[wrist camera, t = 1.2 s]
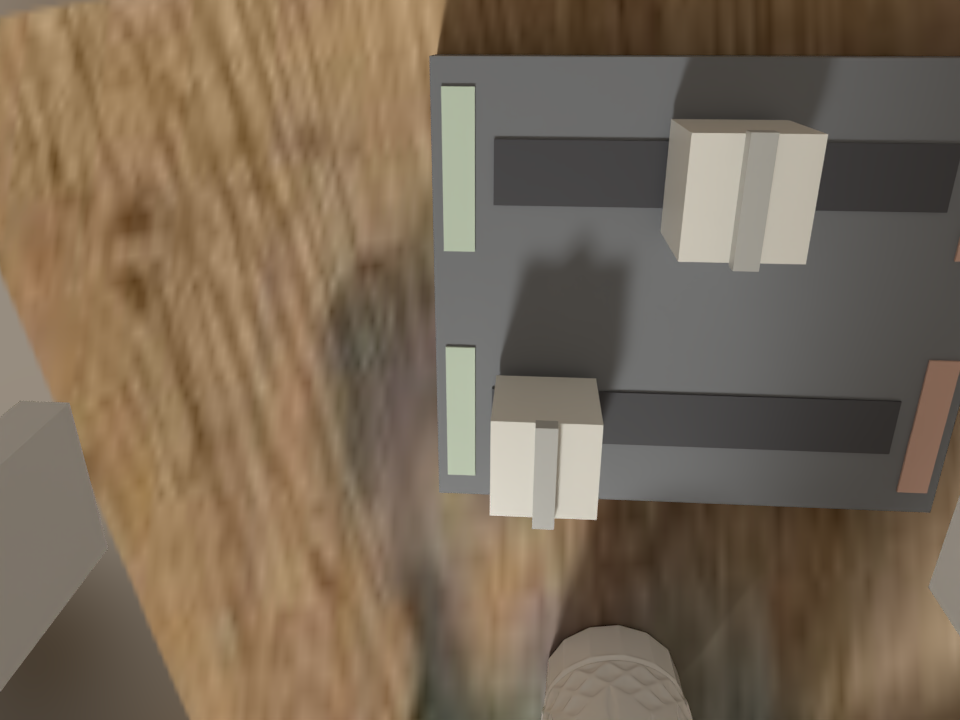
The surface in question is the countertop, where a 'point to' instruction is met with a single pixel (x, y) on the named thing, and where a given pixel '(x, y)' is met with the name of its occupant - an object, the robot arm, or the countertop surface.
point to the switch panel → (702, 276)
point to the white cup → (613, 678)
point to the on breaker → (545, 448)
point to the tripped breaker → (741, 191)
